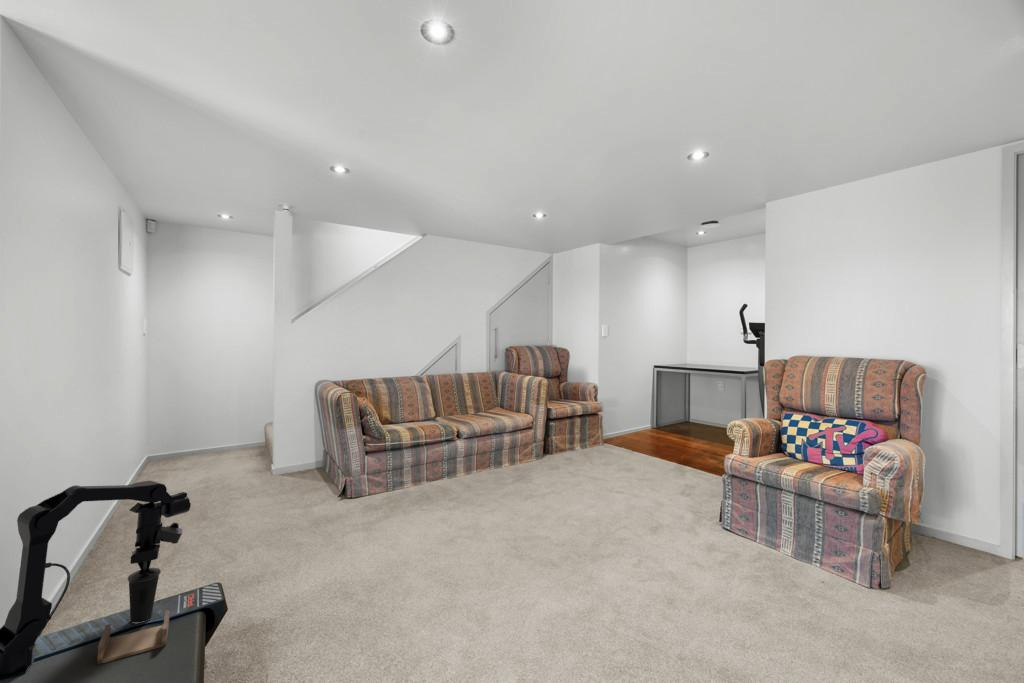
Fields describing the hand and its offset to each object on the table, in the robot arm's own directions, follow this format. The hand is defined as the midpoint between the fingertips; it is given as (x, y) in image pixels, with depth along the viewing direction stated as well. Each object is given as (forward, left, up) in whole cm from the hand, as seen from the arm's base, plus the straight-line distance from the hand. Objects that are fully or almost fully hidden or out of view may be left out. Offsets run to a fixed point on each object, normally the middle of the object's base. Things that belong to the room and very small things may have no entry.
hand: (145, 572), depth 134 cm
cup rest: (0, -18, -12) cm, 21 cm away
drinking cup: (0, -5, -12) cm, 13 cm away
